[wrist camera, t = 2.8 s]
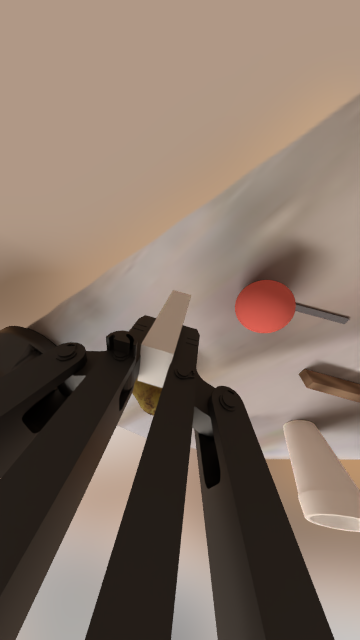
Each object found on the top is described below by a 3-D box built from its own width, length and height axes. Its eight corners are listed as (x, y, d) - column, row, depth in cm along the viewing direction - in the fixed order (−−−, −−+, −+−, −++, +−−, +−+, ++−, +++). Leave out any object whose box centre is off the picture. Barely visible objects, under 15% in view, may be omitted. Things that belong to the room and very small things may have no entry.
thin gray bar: (283, 307, 20) (284, 307, 20) (287, 301, 20) (288, 302, 19) (343, 323, 20) (344, 324, 20) (348, 318, 19) (349, 319, 19)
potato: (167, 334, 26) (152, 373, 19) (185, 382, 32) (179, 424, 25) (125, 339, 28) (99, 375, 21) (150, 383, 34) (135, 422, 28)
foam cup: (269, 419, 34) (297, 510, 23) (318, 412, 30) (379, 518, 19) (283, 438, 37) (314, 526, 27) (329, 435, 34) (386, 535, 23)
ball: (225, 309, 22) (230, 335, 17) (244, 267, 18) (257, 284, 13) (266, 320, 21) (283, 350, 16) (292, 280, 18) (324, 302, 13)
